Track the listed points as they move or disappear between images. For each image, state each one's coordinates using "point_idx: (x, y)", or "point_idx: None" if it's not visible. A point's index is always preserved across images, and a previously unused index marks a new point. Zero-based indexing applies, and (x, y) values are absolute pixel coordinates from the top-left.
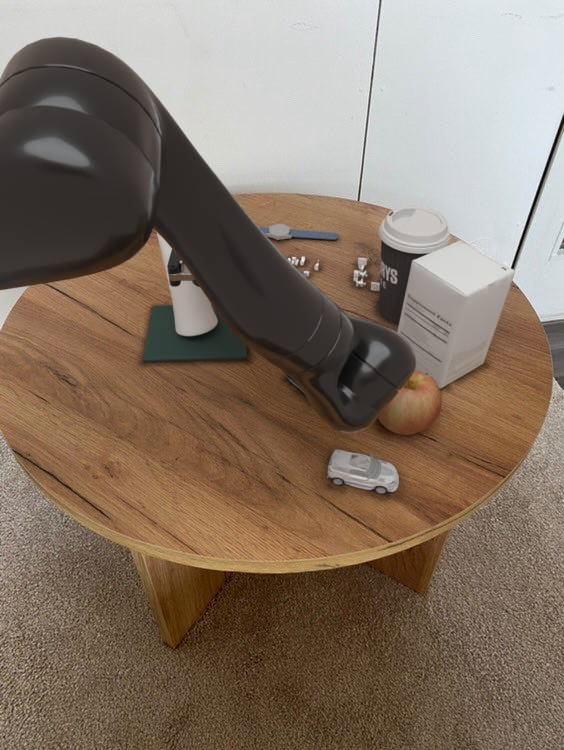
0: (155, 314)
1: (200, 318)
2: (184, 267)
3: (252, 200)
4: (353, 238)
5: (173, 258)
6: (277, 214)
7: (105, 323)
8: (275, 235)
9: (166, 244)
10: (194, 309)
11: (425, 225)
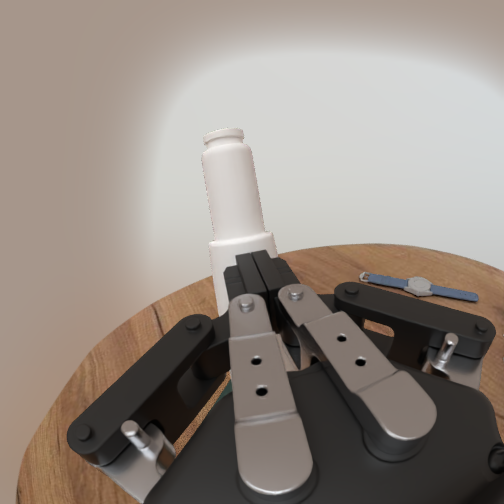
0: (230, 389)
1: None
2: (146, 451)
3: (387, 250)
4: (490, 300)
5: (118, 396)
6: (413, 266)
7: None
8: (415, 290)
9: (223, 304)
10: None
11: None
